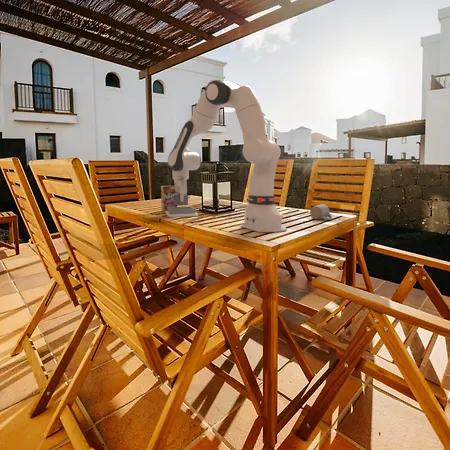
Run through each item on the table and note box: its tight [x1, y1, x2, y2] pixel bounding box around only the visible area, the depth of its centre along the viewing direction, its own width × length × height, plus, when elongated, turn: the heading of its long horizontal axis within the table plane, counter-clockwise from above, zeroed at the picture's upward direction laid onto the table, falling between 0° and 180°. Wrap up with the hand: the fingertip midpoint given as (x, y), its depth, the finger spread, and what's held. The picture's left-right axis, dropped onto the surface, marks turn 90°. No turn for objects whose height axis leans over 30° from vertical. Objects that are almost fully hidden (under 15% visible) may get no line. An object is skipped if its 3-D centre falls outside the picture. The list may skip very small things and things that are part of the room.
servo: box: [172, 193, 190, 206], centre depth 187 cm, size 4×9×6 cm, turn 106°
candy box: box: [160, 185, 178, 213], centre depth 199 cm, size 9×4×15 cm, turn 113°
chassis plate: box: [164, 206, 199, 218], centre depth 188 cm, size 16×16×4 cm
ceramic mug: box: [309, 203, 333, 221], centre depth 175 cm, size 11×8×8 cm
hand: (181, 201), depth 187 cm, fingers closed on servo, 4 cm apart
